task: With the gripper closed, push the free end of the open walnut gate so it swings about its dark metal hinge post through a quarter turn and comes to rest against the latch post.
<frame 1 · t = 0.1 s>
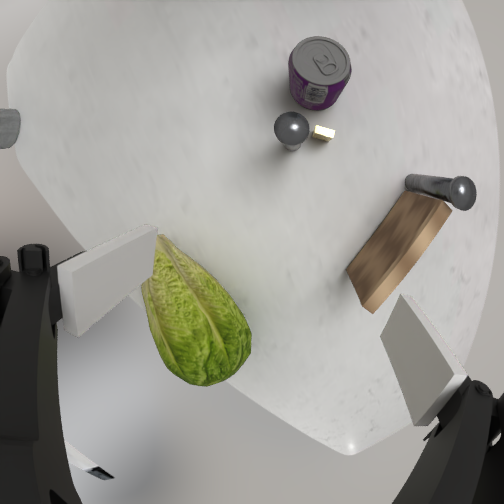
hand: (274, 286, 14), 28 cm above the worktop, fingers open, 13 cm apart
beverage can: (314, 89, 35), on the worktop
vase: (11, 128, 43), on the worktop
latch post: (292, 142, 37), on the worktop
lettuce: (199, 293, 47), on the worktop
hinge post: (412, 183, 36), on the worktop
gate: (395, 246, 32), point 7 cm above the worktop, hinge at 70.0°
tan textured block: (321, 136, 36), on the worktop
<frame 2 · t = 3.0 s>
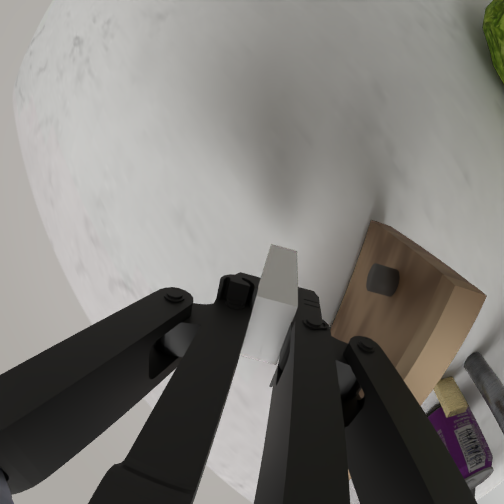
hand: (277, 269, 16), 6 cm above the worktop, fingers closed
beverage can: (442, 414, 24), on the worktop
latch post: (472, 360, 21), on the worktop
gate: (353, 358, 15), point 7 cm above the worktop, hinge at 70.0°
tan textured block: (442, 381, 23), on the worktop
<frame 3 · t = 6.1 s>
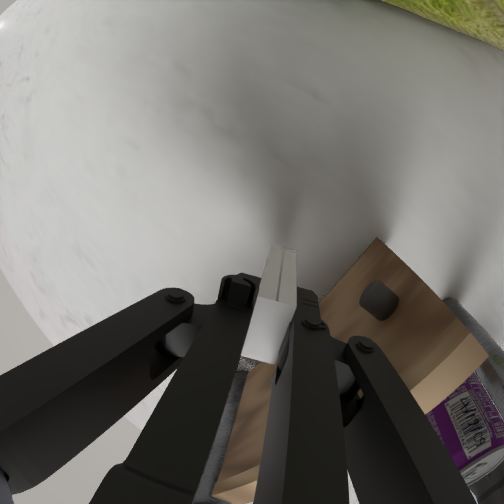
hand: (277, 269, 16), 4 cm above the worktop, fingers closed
beverage can: (439, 381, 21), on the worktop
latch post: (447, 310, 19), on the worktop
hinge post: (244, 382, 24), on the worktop
gate: (311, 370, 14), point 7 cm above the worktop, hinge at 29.1°, touching hand
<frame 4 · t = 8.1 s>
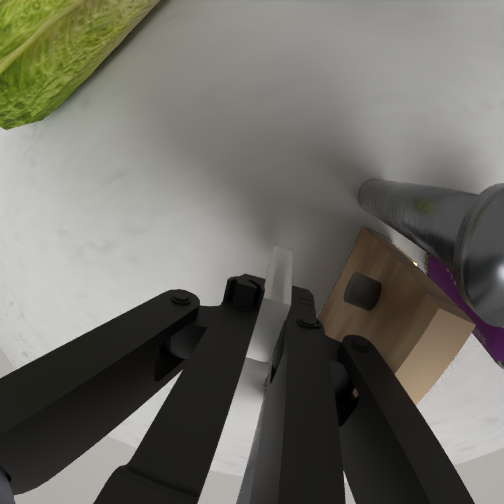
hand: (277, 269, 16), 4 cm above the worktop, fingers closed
beverage can: (459, 256, 18), on the worktop
latch post: (374, 196, 18), on the worktop
lettuce: (107, 32, 17), on the worktop
hinge post: (279, 394, 24), on the worktop
gate: (323, 371, 14), point 7 cm above the worktop, hinge at -1.7°, touching hand
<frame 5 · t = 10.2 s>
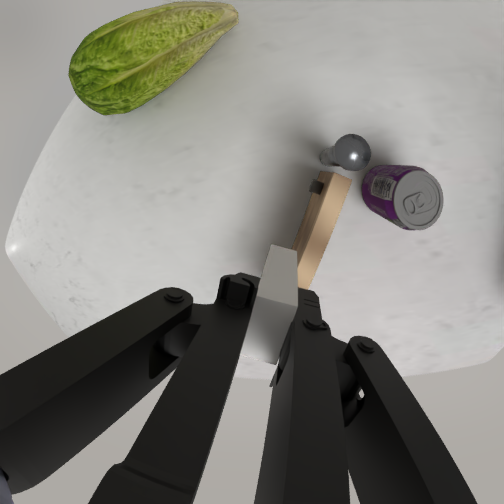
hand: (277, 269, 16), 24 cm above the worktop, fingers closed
beverage can: (383, 189, 36), on the worktop
latch post: (328, 157, 35), on the worktop
lettuce: (170, 59, 34), on the worktop
gate: (305, 233, 32), point 7 cm above the worktop, hinge at -0.7°
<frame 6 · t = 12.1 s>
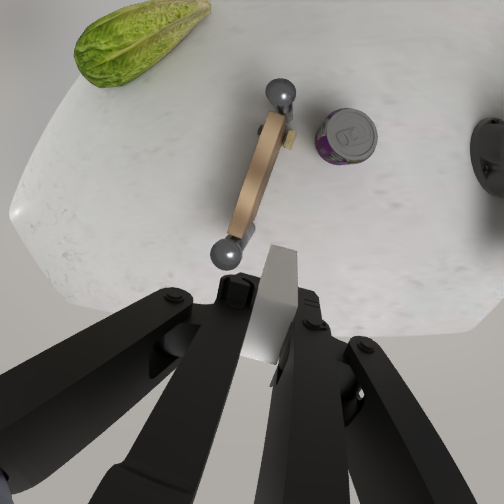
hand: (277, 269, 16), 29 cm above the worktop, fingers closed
beverage can: (336, 143, 40), on the worktop
latch post: (285, 116, 40), on the worktop
lettuce: (157, 44, 38), on the worktop
hinge post: (246, 228, 46), on the worktop
gate: (257, 172, 36), point 7 cm above the worktop, hinge at -0.7°
tan textured block: (290, 141, 41), on the worktop
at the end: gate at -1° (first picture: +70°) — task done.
